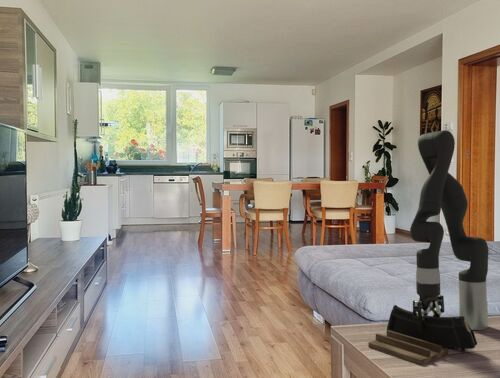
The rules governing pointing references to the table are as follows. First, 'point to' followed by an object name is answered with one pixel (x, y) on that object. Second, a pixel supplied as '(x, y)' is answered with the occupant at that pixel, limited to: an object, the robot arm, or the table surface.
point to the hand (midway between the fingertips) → (429, 328)
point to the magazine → (434, 329)
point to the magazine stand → (408, 347)
